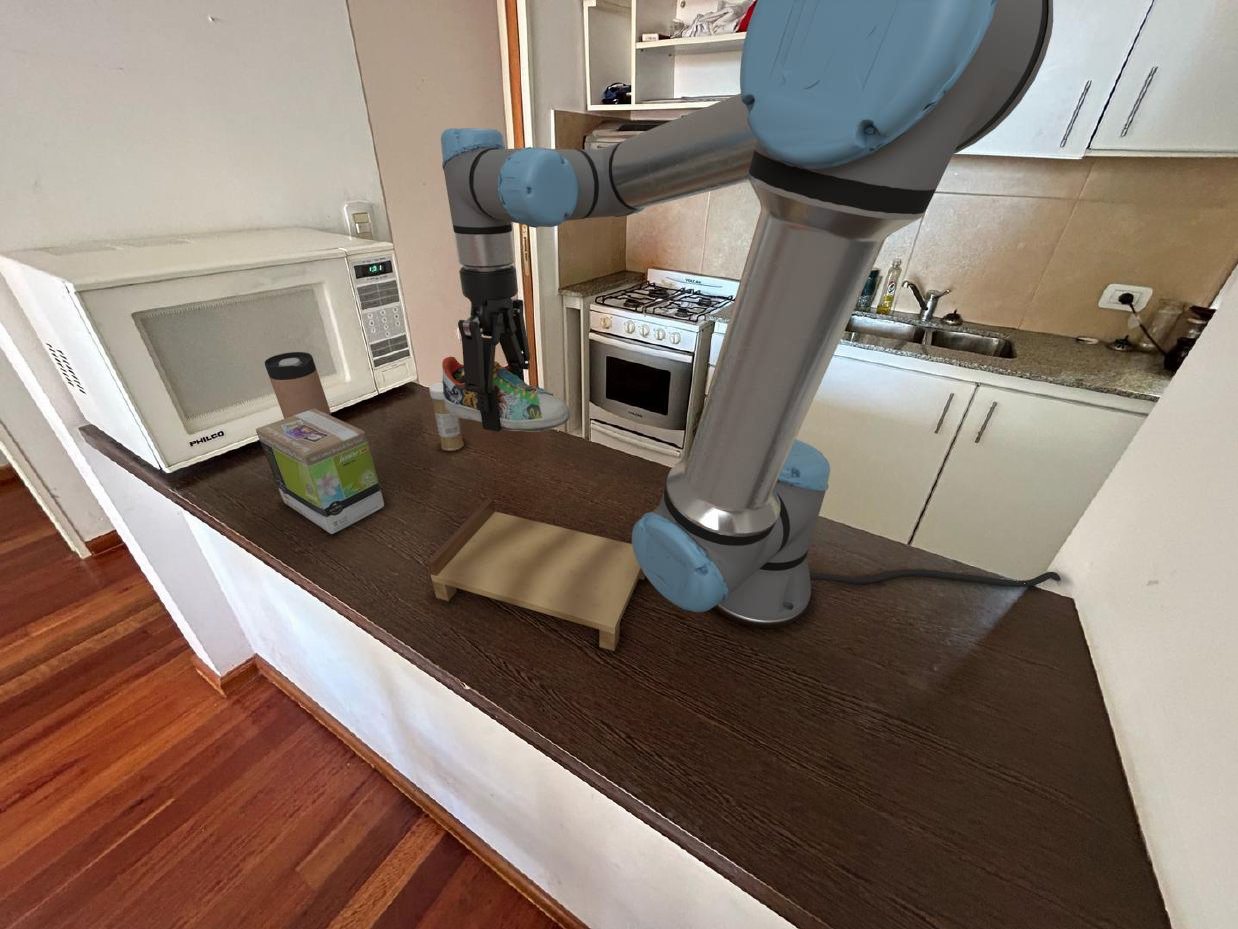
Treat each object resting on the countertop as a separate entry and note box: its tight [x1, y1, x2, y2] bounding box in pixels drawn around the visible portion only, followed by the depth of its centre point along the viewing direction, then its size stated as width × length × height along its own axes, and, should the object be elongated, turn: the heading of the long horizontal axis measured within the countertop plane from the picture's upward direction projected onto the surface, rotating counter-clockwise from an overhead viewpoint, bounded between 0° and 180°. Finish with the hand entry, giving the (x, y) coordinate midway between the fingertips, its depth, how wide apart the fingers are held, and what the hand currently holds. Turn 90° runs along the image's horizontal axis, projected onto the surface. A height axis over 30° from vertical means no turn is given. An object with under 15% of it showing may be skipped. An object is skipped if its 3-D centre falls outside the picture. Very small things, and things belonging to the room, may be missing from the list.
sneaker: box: [441, 356, 571, 433], centre depth 78 cm, size 8×21×10 cm, turn 71°
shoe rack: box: [426, 497, 646, 652], centre depth 71 cm, size 26×15×7 cm, turn 71°
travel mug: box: [264, 351, 333, 419], centre depth 96 cm, size 8×8×20 cm
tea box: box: [255, 409, 385, 535], centre depth 83 cm, size 15×10×15 cm, turn 56°
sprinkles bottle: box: [428, 381, 464, 452], centre depth 101 cm, size 5×5×13 cm
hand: (505, 418), depth 81 cm, fingers closed on sneaker, 7 cm apart
